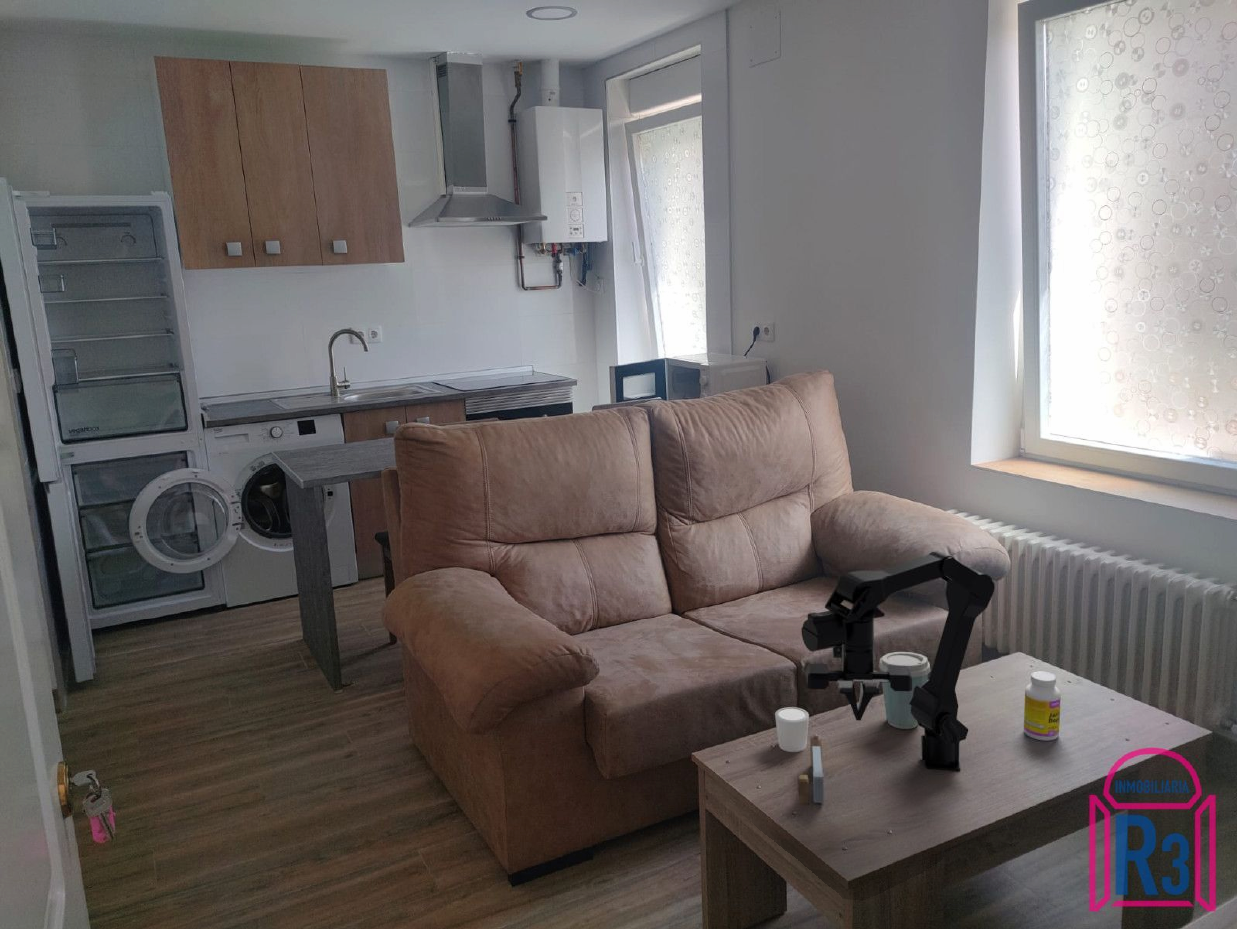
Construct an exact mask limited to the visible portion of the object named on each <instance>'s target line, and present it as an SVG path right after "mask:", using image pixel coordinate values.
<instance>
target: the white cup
mask: <svg viewBox="0 0 1237 929" xmlns="http://www.w3.org/2000/svg"><path fill="white" fill-rule="evenodd" d="M774 716H775V717H774V718H775V725H776V733H777V741H778V746H779V748H780V749H781V750H783V751H785V752H789V753H798V752H803V751H804V750H805V749H806V747H807V745H808V743H807V742H808V730H809V721H810V720H809V719H810V714H809V712H808V711H807V710H805V709H804V708H800V707H794V706H791V707H789V706H788V707H782V708H779V709H778V710H776V711H775V713H774Z"/></svg>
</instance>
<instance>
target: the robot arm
mask: <svg viewBox="0 0 1237 929" xmlns="http://www.w3.org/2000/svg"><path fill="white" fill-rule="evenodd" d="M938 579H941V580H943V581H944V582H945V583H946V587H945V588H946V589H945V598H946V602H947V608H948V612H947V616H946V619H945V623H944V625H943V629H942V633H941V636H940V640H939V645H938V647H937V651H936V655H935V658H934V661H933V666H932V668H931V670H930V671H931V672H930V675H929V677H928V679H927V682H926V683H925V684H924V685H923V686H922V687H920V686H915V688H914V693H913V697H912V700H911V701H910V703H909V704H910V705H911V714H912V715H913V717H914V718H915V719H916V720H917V722H918V725H917V726H919V727H922V729H924V730H923V732H924V734H922V735H921V736H920V739H921V740H920V754H921V756H920V757H921V760H922V761H923V762H924V767H925V768H926V769H931V770H932V769H935V770H936V769H937V770H952V771H960V770H961V768H962V767H961V763H960V742H961V741H964V740H966V739H967V736H968V732H969V728H968V727H967V726H966V725H964V724H963V723H962V722H961V721H960V720H959V719H958V711H959V703H958V701H959V700H958V698H957V694H956V692H957V691H956V686H957V683H958V680H959V676H960V672H961V668H962V666H963V662H964V659H965V655H966V652H967V649H968V645H969V641H970V638H971V634H972V631H973V628H974V624H975V621H976V619H977V617H978V616H980V615H981V614H982V613H983V612H984V611H985V610H986V609H987V608H988V606H989V604H990V601H991V600H992V597H993V595H994V592H995V589H996V588H995V586H996V585H995V582H994V580H993V579H992V577H991V576H990V575H988V574H986V573H984V572H981V571H979V570H975V569H974V568H971V567H968V566H966V565H964V564H963V563H962V562H960V561H958V560H957V559H956V558H955V557H954V556H952V555H949V554H946V553H945V552H942V551H939V550H936V551H930V553H929V554H927V555H924V556H921V557H917V558H915V559H911V560H908V561H906V562H902V563H898V564H897V565H894V566H890V567H887V568H884V569H881V570H880V569H879V570H856V571H850V572H846V573H844V574H842V575H841V576H839V581H837V585H836V587H835V588H834V590H833V591H832V594H831V595H830V597H829V598H828V600H827V602H826V603H825V605H824V609H826V611H820V612H810V613H807V619H806V620H804V622H803V624H802V627H801V631H800V633H801V637H802V641H803V644H804V646H805V647H806V649H807V650H808V651H809V652H813V653H814V652H818V651H822V650H823V651H824V650H828V649H832V657H833V659H840V666H841V668H842V669H841V670H829V666H828V663H809V664H808V665H807V666H806V685H807V688H808V689H810V690H825V689H827V688H828V687H829V686H830V682H837V689H838V694H842V695H844V696H845V697H846V699H847V701H848V702H849V705H850V707H851V710H852V713H853V715H854V718H855V721H861V720H862V718H863V716H864V713H865V712H866V709H867V707H868V706H869V703H871V700H872V699H873V698H874V696H877V695H879V694H880V692H881V691H880V687H879V685H880V683H882V682H887V683H890V687H891V688H892V689H893V690H894V691H911V690H912V677H911V674H910V671H909V669H908V668H907V666H902V665H887V672H881V671H877V670H875V637H874V636H875V619H878V618H883V617H885V612H883V611H882V610H881V609H880V608H879V606H880V605H883V604H884V603H885V602H886V601H887V600H888V598H889V597H890V596H892V595H894V594H896V593H898V592H902V591H905V590H908V589H911V588H913V587H917V586H920V585H922V584H925V583H928V582H932V581H934V580H938ZM843 602H844V603H846V604H848V605H849V606H851V609H850V608H849V607H847V606H845V605H843V604H842V603H843ZM858 682H859V683H860V688H859V689H860V691H859V700H858V702H857V696H856V688H855V683H858Z"/></svg>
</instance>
